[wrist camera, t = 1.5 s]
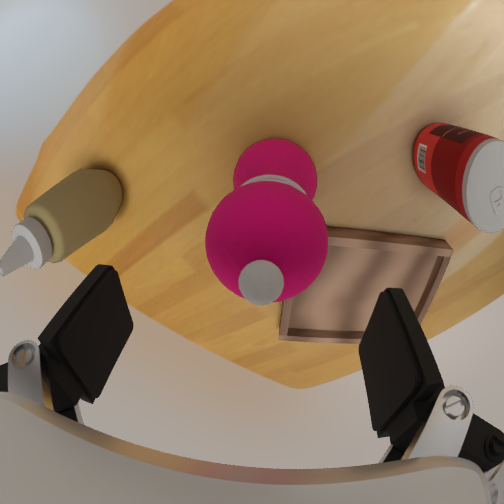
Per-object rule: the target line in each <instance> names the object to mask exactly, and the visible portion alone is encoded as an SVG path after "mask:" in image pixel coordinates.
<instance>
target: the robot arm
mask: <svg viewBox="0 0 504 504" xmlns="http://www.w3.org/2000/svg"><path fill="white" fill-rule="evenodd" d="M132 330H133V321H132V318H131V315H130V312H129V309H128V306H127V302H126V299H125V296H124V293H123V289H122V286H121V283H120V279H119V275H118V272H117V271H116V270H114V268H113V266H110V265H101V264H99V265H97V266H96V267H95V268H94V269H93V270H92V271H91V272H90V273H89V275H88V276H87V277H86V278H85V279H84V280H83V282H82V283H81V284H80V285H79V286H78V287H77V289H76V290H75V291H74V292H73V293H72V295H71V296H70V297H69V298H68V300H67V301H66V302H65V303H64V304H63V306H62V307H61V308H60V309H59V311H58V312H57V313H56V315H55V316H54V317H53V319H52V320H51V321H50V322H49V324H48V325H47V326H46V328H45V329H44V330H43V332H42V333H41V334H40V336H39V337H38V339H39V341H40V343H41V344H40V345H39V346H38V345H37V343H36V342H34V341H32V340H25V341H22V342H20V343H18V344H17V345H16V346H14V348H13V349H12V350H11V352H10V354H9V359H8V363H5V364H3V365H0V504H504V433H503V432H502V431H500V430H499V429H497V428H496V427H494V426H493V425H491V424H489V423H488V422H486V421H485V420H483V419H481V418H480V417H478V416H477V415H475V414H473V409H474V406H473V401H472V398H471V396H470V395H469V394H468V392H467V391H466V390H464V389H463V388H461V387H458V386H449V387H446V388H445V387H444V384H443V380H442V377H441V374H440V372H439V369H438V366H437V364H436V361H435V359H434V356H433V354H432V351H431V349H430V347H429V344H428V342H427V339H426V337H425V335H424V332H423V330H422V328H421V326H420V324H419V321H418V319H417V317H416V315H415V313H414V311H413V309H412V307H411V304H410V302H409V300H408V298H407V296H406V294H405V292H404V290H403V289H402V288H386V289H385V290H384V292H380V294H379V296H378V299H377V302H376V304H375V307H374V310H373V312H372V315H371V317H370V320H369V322H368V325H367V327H366V330H365V332H364V334H363V337H362V339H361V341H360V344H359V355H360V360H361V365H362V370H363V375H364V380H365V386H366V391H367V397H368V403H369V408H370V415H371V421H372V427H373V430H374V431H377V435H378V438H381V437H388V436H390V442H391V445H390V446H389V448H388V449H387V451H386V453H385V454H384V455H383V457H382V459H381V460H380V461H379V463H378V464H371V465H363V466H353V467H341V468H326V469H270V468H255V467H243V466H235V465H227V464H219V463H212V462H207V461H201V460H195V459H191V458H186V457H181V456H177V455H172V454H168V453H164V452H160V451H157V450H153V449H150V448H146V447H143V446H139V445H136V444H133V443H130V442H127V441H124V440H121V439H118V438H115V437H112V436H109V435H107V434H104V433H102V432H99V431H97V430H94V429H92V428H90V427H87V426H85V425H84V423H83V420H82V416H81V412H80V409H79V405H78V401H79V399H80V398H81V399H82V400H84V401H86V402H89V403H91V404H93V402H94V400H95V398H98V397H99V396H100V394H101V392H102V390H103V388H104V386H105V384H106V382H107V380H108V377H109V375H110V373H111V371H112V369H113V367H114V365H115V363H116V361H117V359H118V357H119V355H120V353H121V351H122V349H123V348H124V346H125V344H126V342H127V340H128V338H129V336H130V334H131V332H132Z"/></svg>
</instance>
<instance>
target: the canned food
mask: <svg viewBox="0 0 504 504" xmlns="http://www.w3.org/2000/svg"><path fill="white" fill-rule="evenodd" d="M413 162H414V166H415V169H416V172H417V174H418V176H419V178H420V179H421V181H422V182H423V184H424V185H425V186H426V187H428V188H429V189H430V190H432V191H433V192H434V193H435V194H437V195H438V196H439V197H441V198H442V199H443V200H444V201H446V202H447V203H448V204H449V205H450V206H452V207H453V208H454V209H455V210H457V211H458V212H459V213H460V214H461V215H462V216H464V217H465V218H466V219H467V220H468V221H470V222H471V223H472V224H473V225H474V226H475V227H477V228H479V229H480V230H481V231H484V232H487V233H494V232H498V231H500V230H502V229H503V228H504V141H502V140H500V139H497V138H494V137H492V136H489V135H486V134H482V133H479V132H476V131H472V130H468V129H465V128H461V127H457V126H453V125H449V124H444V123H435V124H432V125H429V126H428V127H426V128H424V129H423V130H422V131H421V132H420V134H419V135H418V137H417V139H416V141H415V144H414V148H413Z"/></svg>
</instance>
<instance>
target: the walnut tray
mask: <svg viewBox="0 0 504 504" xmlns="http://www.w3.org/2000/svg"><path fill="white" fill-rule="evenodd" d="M326 227H327V233H328V253H327V257H326V261H325V264H324V266H323V268H322V270H321V272H320V274H319V276H318V277H317V278H316V279H315V280H314V282H313V283H312V284H311V285H310V286H309V287H308V288H307V289H306V290H304V291H303V292H301V293H300V294H298V295H296V296H294V297H292V298H290V299H286V300H283V304H282V312H281V320H280V327H279V340H285V341H300V342H319V343H349V344H360V341H361V339H362V337H363V334H364V332H365V330H366V327H367V325H368V322H369V320H370V317H371V315H372V312H373V310H374V307H375V304H376V302H377V299H378V296H379V294H380V292H384V290H385V289H386V288H402V289H403V290H404V292H405V294H406V296H407V298H408V300H409V302H410V304H411V307H412V309H413V311H414V313H415V315H416V317H417V319H418V321H419V324H421V322H422V320H423V318H424V316H425V314H426V312H427V310H428V308H429V306H430V304H431V302H432V300H433V298H434V296H435V294H436V291H437V289H438V287H439V285H440V282H441V280H442V278H443V275H444V273H445V270H446V268H447V265H448V263H449V260H450V258H451V255H452V252H453V249H452V248H451V247H450V246H449V244H448V243H447V242H446V241H445V240H441V239H433V238H426V237H418V236H410V235H402V234H394V233H385V232H376V231H367V230H358V229H348V228H338V227H328V226H326Z"/></svg>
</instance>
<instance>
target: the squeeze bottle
mask: <svg viewBox="0 0 504 504" xmlns="http://www.w3.org/2000/svg"><path fill="white" fill-rule="evenodd" d="M121 201H122V188H121V185H120V183H119V181H118V179H117V178H116V177H115V176H114V174H112V173H111V172H109V171H107V170H97V169H79V170H77V171H76V172H74V173H72V174H71V175H69V176H68V177H66V178H65V179H63V180H62V181H60V182H59V183H58V184H56V185H55V186H53V187H52V188H51V189H49V190H48V191H47V192H45V193H44V194H43V195H41V196H40V197H39V198H37V199H36V200H35V201H34V202H32V203H31V204H30V205H29V206H27V209H26V211H25V213H24V220H23V221H21V222H20V223H19V224H17V225H16V226H15V227H14V229H13V232H12V239H13V243H12V245H11V246H10V247H9V249H8V250H7V251H6V253H5V254H4V255H3V257H2V258H1V260H0V274H1V275H2V276H5V275H7V274H9V273H10V272H12V271H14V270H16V269H18V268H20V267H22V266H24V265H25V264H26V265H27V266H29V267H30V268H33V269H39V268H41V267H42V266H43V265H44V264H45V263H46V262H47V261H49V262H52V263H57V262H60V261H62V260H63V259H65V258H66V257H68V256H69V255H70V254H72V253H73V252H75V251H76V250H77V249H79V248H80V247H82V246H83V245H85V244H86V243H87V242H89V241H90V240H92V239H93V238H95V237H96V236H98V235H99V234H101V233H102V232H104V231H105V230H106V229H107V228H108V227H109V226H110V225H111V224H112V223H113V220H114V218H115V216H116V214H117V211H118V209H119V207H120V204H121Z"/></svg>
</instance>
